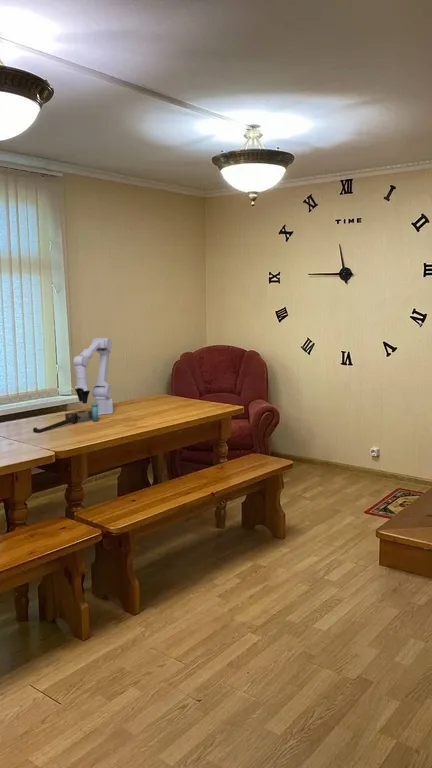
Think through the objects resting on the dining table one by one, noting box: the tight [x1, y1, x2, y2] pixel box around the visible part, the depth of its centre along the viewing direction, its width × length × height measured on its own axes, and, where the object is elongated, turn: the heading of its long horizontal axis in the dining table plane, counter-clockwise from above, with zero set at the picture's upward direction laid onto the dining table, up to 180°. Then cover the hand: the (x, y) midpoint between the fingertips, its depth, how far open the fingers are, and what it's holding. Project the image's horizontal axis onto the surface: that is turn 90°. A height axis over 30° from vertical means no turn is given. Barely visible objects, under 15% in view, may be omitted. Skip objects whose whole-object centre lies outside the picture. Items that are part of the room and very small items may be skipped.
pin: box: [90, 402, 99, 423], centre depth 342 cm, size 4×4×10 cm
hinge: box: [64, 410, 93, 423], centre depth 345 cm, size 18×6×5 cm, turn 117°
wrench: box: [32, 414, 81, 434], centre depth 330 cm, size 5×5×30 cm
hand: (83, 402), depth 344 cm, fingers open, 7 cm apart
